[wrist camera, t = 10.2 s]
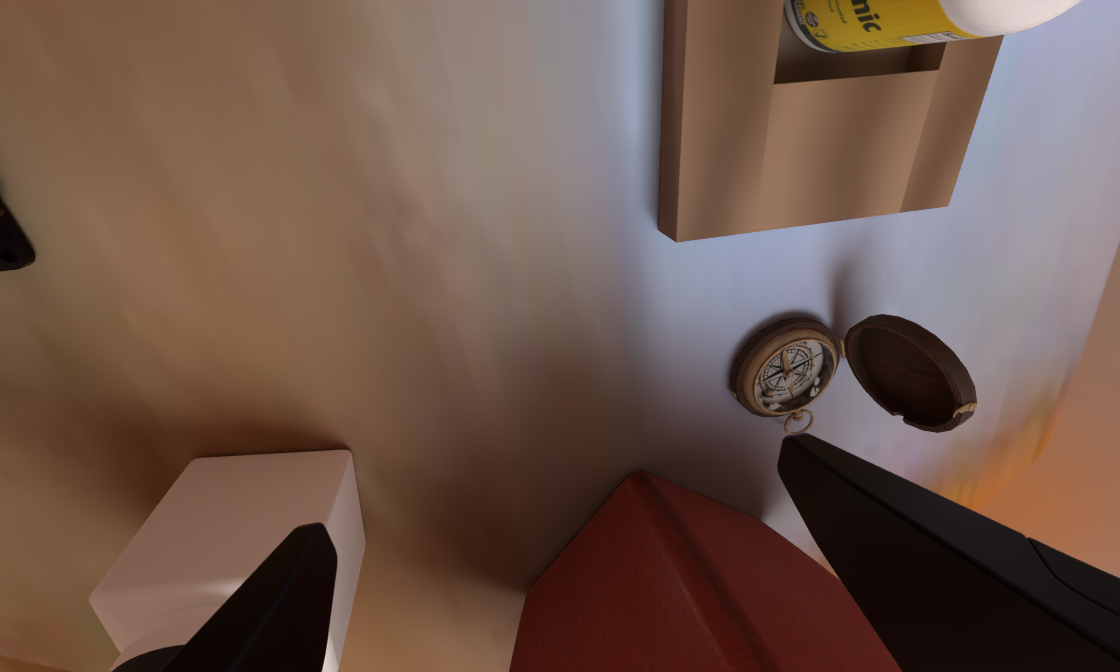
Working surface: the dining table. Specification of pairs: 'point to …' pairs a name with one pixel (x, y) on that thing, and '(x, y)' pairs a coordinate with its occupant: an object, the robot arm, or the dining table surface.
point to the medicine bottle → (226, 548)
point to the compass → (856, 371)
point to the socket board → (805, 122)
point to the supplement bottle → (912, 21)
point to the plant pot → (689, 596)
